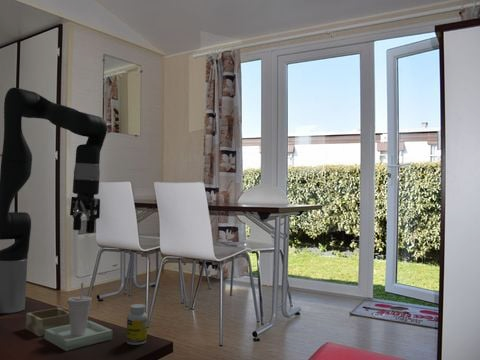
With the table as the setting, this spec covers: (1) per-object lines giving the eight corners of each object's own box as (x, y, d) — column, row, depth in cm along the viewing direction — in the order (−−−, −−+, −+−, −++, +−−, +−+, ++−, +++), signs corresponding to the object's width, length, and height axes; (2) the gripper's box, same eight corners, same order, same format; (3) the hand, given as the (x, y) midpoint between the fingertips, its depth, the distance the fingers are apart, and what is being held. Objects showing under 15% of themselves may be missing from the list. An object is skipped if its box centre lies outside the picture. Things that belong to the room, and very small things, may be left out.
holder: (25, 328, 120) (26, 313, 120) (58, 322, 127) (58, 307, 128) (39, 336, 114) (39, 319, 114) (72, 329, 121) (73, 313, 121)
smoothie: (81, 338, 109) (84, 285, 110) (60, 336, 110) (62, 284, 111) (94, 331, 115) (97, 281, 116) (74, 329, 117) (76, 280, 117)
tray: (44, 338, 112) (44, 329, 112) (88, 328, 122) (89, 320, 122) (65, 350, 104) (66, 341, 104) (112, 339, 113) (112, 330, 113)
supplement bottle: (122, 343, 110) (123, 306, 110) (133, 337, 115) (135, 302, 115) (139, 346, 108) (140, 309, 108) (150, 340, 113) (151, 304, 114)
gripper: (64, 177, 128) (61, 229, 128) (86, 178, 119) (82, 234, 118) (87, 179, 134) (84, 229, 133) (109, 179, 124) (106, 233, 124)
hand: (83, 231), depth 126 cm, fingers open, 8 cm apart
